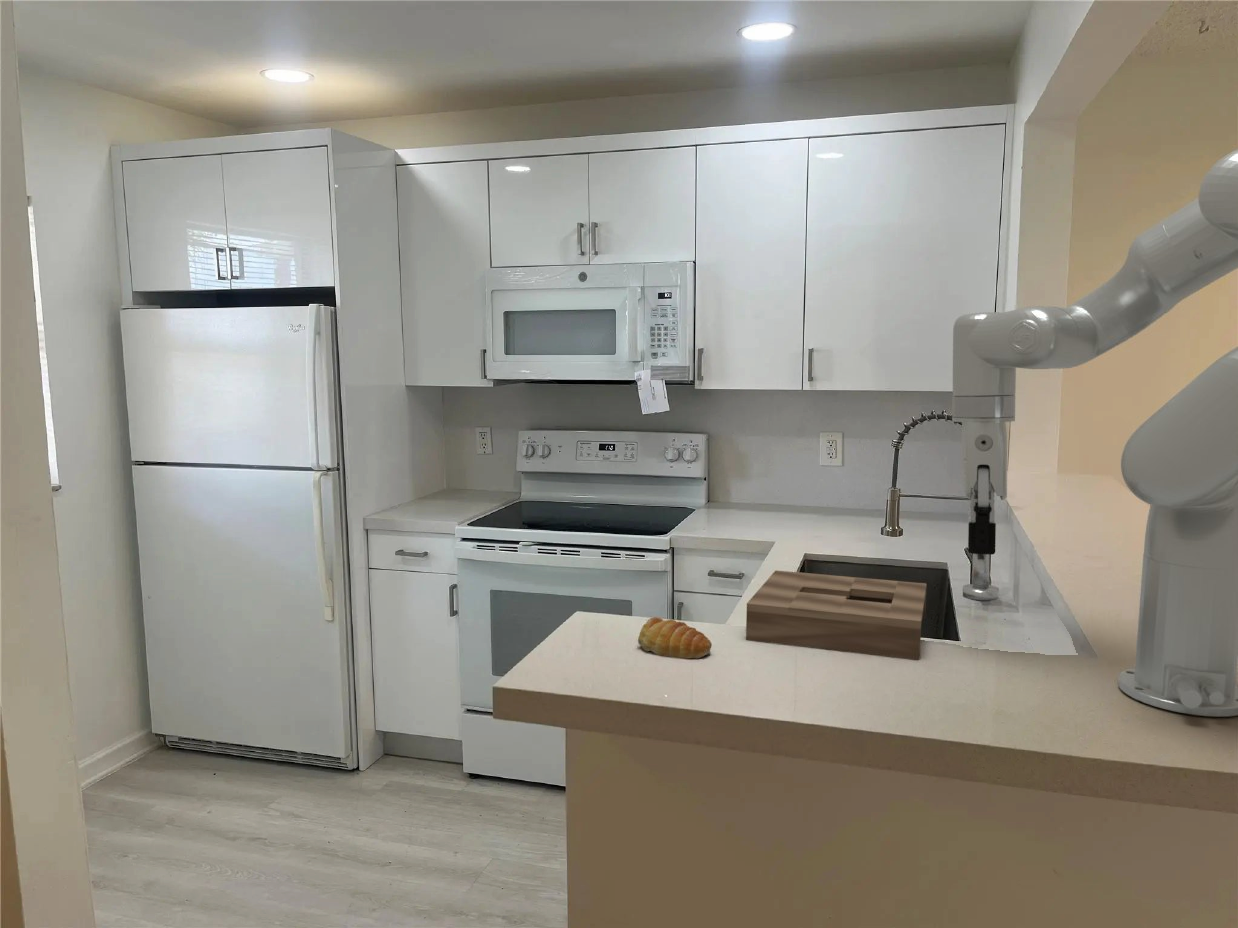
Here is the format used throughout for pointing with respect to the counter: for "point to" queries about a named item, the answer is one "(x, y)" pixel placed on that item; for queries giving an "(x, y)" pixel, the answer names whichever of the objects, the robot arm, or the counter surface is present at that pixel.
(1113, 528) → the counter surface
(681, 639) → the pastry
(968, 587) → the keyhole bolt
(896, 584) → the keyhole plate
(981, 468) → the robot arm
